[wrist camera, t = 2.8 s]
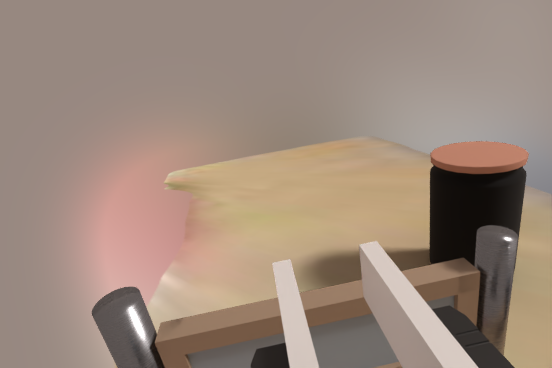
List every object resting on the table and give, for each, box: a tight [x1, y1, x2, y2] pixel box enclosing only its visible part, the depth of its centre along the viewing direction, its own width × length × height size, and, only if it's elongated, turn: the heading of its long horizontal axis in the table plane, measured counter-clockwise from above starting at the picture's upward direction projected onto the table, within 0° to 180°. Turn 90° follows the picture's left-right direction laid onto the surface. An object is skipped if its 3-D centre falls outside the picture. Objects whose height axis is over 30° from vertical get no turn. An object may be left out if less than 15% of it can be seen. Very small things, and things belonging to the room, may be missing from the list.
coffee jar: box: [430, 141, 529, 269], centre depth 43 cm, size 11×11×18 cm
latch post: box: [475, 225, 518, 355], centre depth 26 cm, size 2×2×19 cm
